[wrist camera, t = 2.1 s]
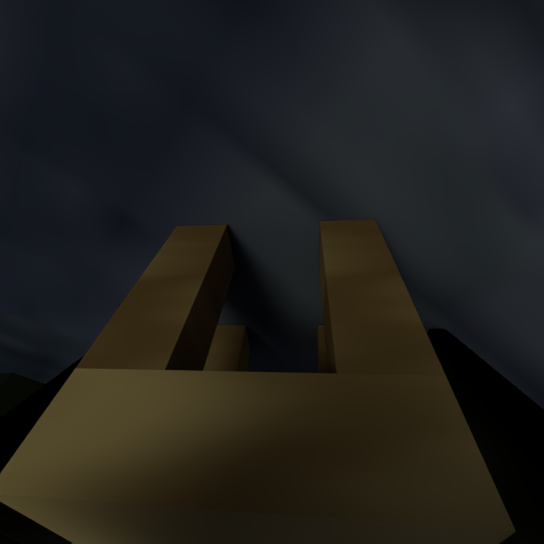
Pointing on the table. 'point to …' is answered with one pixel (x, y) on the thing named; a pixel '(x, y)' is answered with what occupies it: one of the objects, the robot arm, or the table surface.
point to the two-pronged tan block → (258, 419)
